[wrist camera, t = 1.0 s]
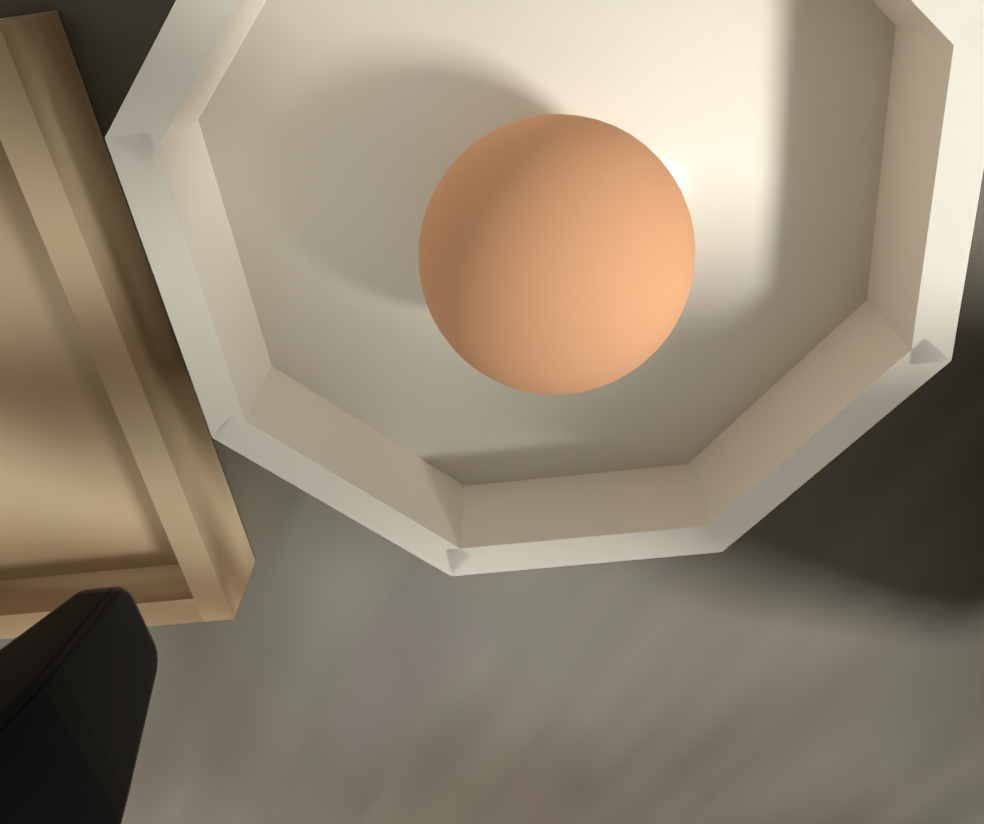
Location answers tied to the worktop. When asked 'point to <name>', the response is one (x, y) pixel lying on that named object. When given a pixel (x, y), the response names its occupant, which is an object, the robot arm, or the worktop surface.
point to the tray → (93, 376)
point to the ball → (556, 254)
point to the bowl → (454, 128)
